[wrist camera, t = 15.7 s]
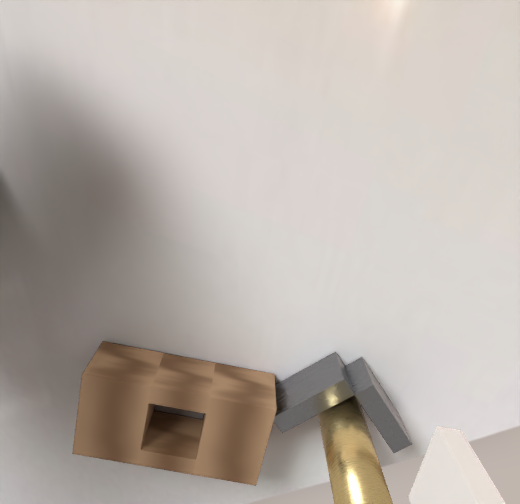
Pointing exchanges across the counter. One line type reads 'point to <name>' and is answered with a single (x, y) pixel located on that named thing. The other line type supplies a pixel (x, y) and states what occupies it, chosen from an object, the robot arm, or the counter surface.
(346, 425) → the axle
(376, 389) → the v block
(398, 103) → the counter surface
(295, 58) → the counter surface
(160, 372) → the wooden block with hole
